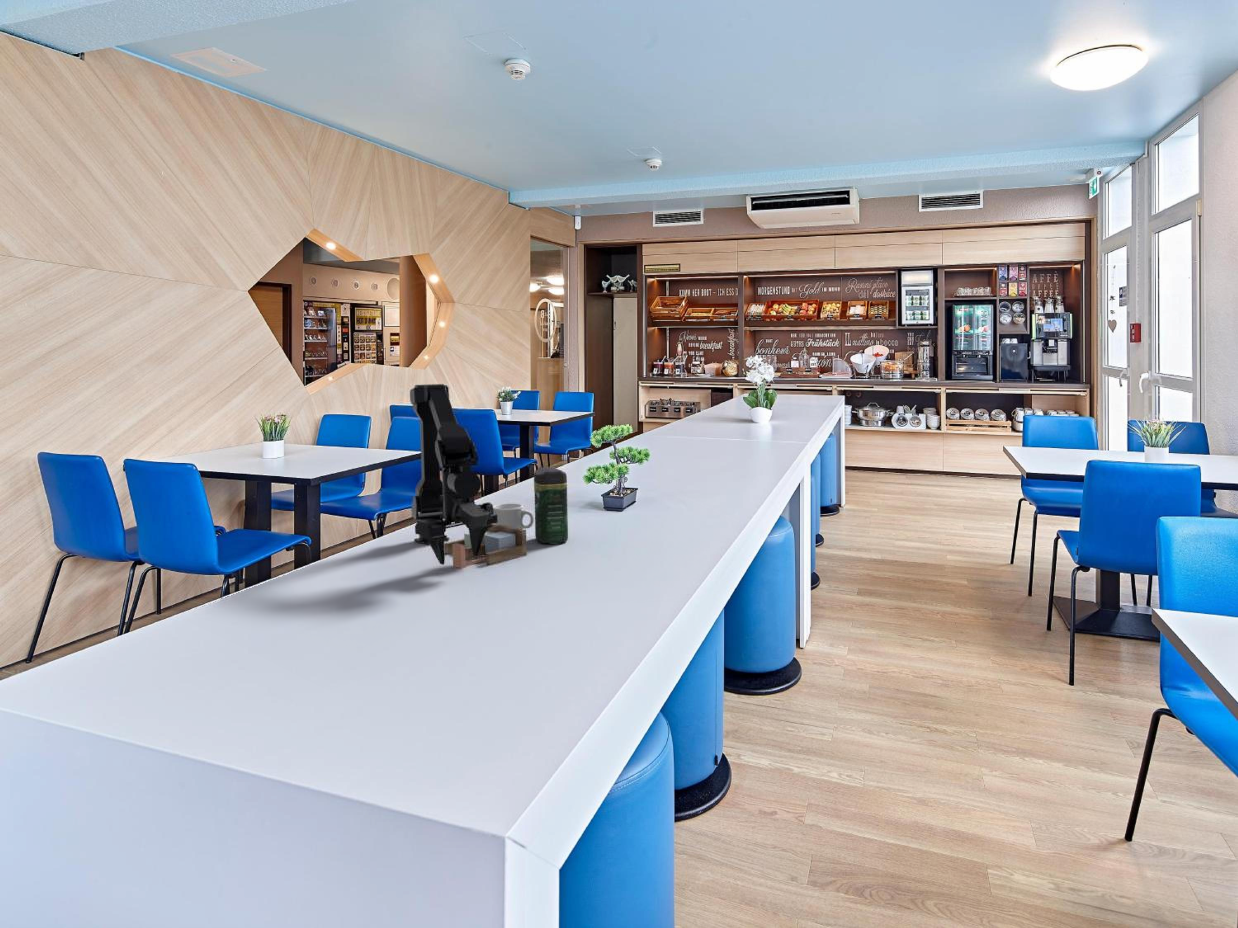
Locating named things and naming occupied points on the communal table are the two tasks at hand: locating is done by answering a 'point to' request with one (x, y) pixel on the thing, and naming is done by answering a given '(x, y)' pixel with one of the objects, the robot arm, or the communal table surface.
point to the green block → (468, 542)
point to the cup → (512, 515)
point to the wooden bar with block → (491, 544)
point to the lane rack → (499, 554)
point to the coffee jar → (550, 505)
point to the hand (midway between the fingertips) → (459, 559)
